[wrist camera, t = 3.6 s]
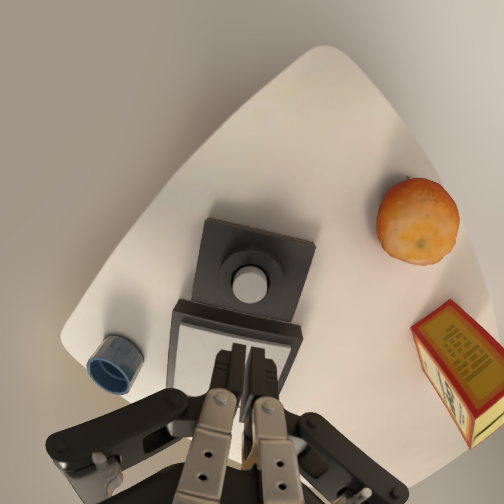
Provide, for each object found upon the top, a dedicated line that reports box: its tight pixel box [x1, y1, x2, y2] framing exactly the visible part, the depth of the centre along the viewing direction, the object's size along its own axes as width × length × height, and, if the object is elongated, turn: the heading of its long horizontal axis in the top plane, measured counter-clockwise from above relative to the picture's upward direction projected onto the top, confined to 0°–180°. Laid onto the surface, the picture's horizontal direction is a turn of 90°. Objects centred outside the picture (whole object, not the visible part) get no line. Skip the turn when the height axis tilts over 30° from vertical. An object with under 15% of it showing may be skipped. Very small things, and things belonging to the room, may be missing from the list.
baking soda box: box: [411, 299, 504, 450], centre depth 21 cm, size 10×6×16 cm
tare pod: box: [191, 218, 316, 322], centre depth 25 cm, size 10×8×3 cm
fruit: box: [377, 176, 460, 266], centre depth 21 cm, size 8×8×8 cm
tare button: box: [233, 266, 267, 303], centre depth 23 cm, size 3×3×2 cm
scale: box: [166, 299, 303, 408], centre depth 28 cm, size 13×12×3 cm
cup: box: [86, 336, 143, 395], centre depth 28 cm, size 6×6×5 cm
